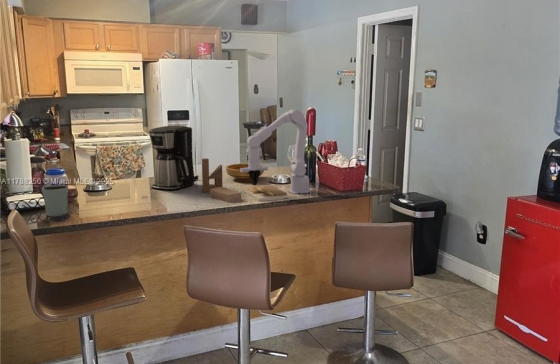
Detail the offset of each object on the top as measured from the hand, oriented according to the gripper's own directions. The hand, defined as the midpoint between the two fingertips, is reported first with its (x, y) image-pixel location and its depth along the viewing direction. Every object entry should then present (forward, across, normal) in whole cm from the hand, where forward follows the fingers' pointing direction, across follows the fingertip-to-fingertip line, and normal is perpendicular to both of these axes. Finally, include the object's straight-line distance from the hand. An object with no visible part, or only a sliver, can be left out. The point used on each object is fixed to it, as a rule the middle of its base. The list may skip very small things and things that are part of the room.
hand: (254, 184), depth 241 cm
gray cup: (+5, +94, +3) cm, 94 cm away
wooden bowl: (+5, -8, -39) cm, 41 cm away
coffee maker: (+5, +32, -36) cm, 48 cm away
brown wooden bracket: (+5, +19, -15) cm, 25 cm away
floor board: (+5, -5, +5) cm, 8 cm away
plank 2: (+2, -2, +9) cm, 10 cm away
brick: (+6, +16, +3) cm, 18 cm away
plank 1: (+4, -2, 0) cm, 4 cm away
